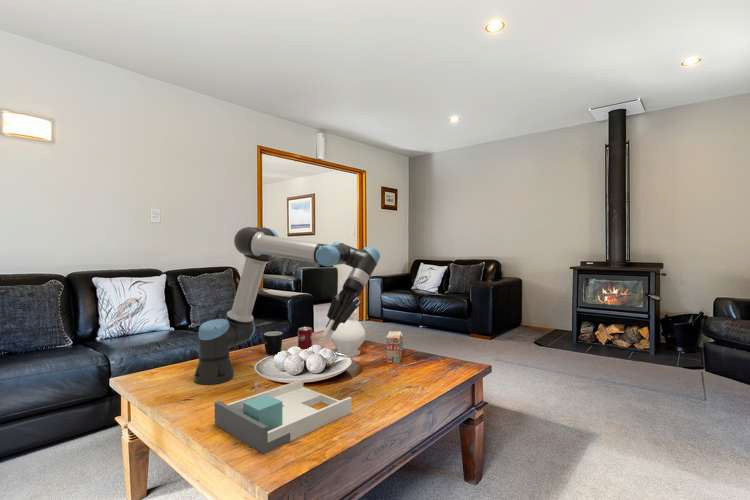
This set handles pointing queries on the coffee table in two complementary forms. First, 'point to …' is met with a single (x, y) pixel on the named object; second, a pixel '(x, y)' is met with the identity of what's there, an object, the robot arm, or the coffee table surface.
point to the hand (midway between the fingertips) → (325, 337)
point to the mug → (273, 342)
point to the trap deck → (294, 416)
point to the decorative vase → (348, 336)
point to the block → (265, 411)
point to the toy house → (394, 347)
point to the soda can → (304, 337)
